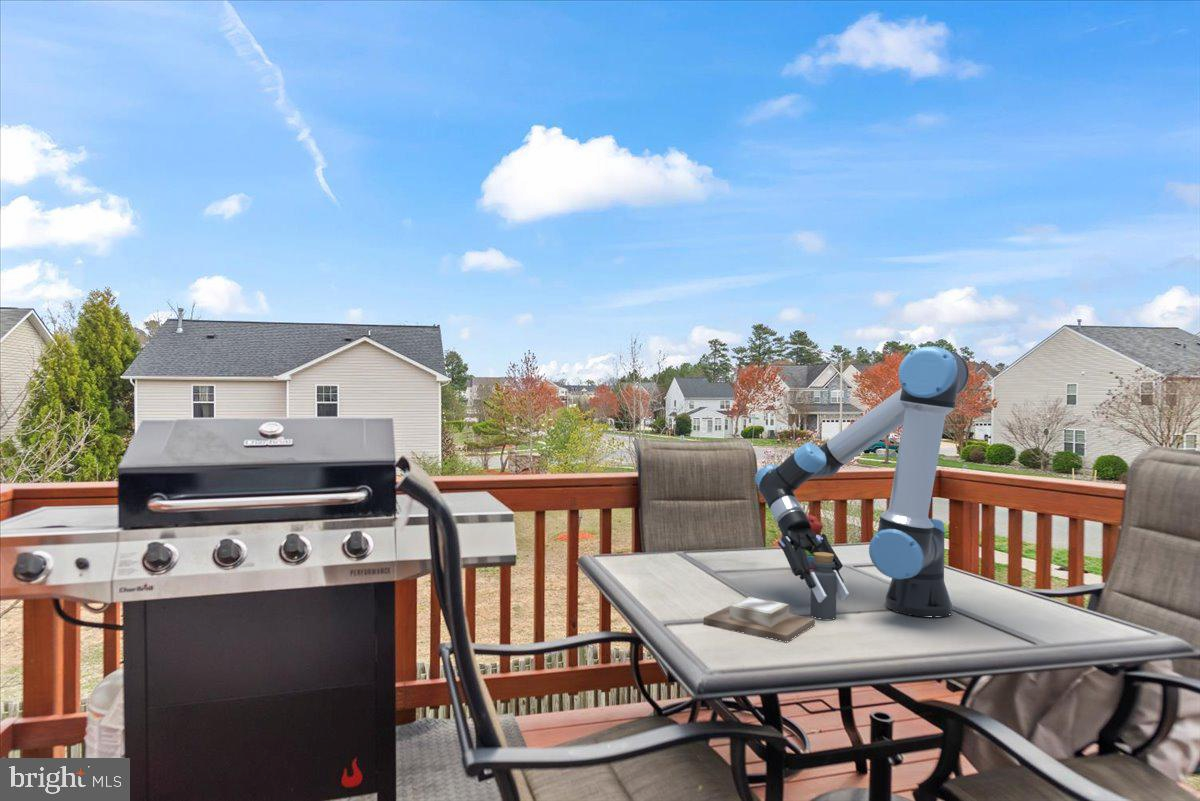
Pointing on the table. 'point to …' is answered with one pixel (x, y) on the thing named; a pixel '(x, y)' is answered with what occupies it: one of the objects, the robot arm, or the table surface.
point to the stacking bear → (816, 528)
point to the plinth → (761, 630)
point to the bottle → (824, 586)
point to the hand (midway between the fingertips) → (833, 597)
